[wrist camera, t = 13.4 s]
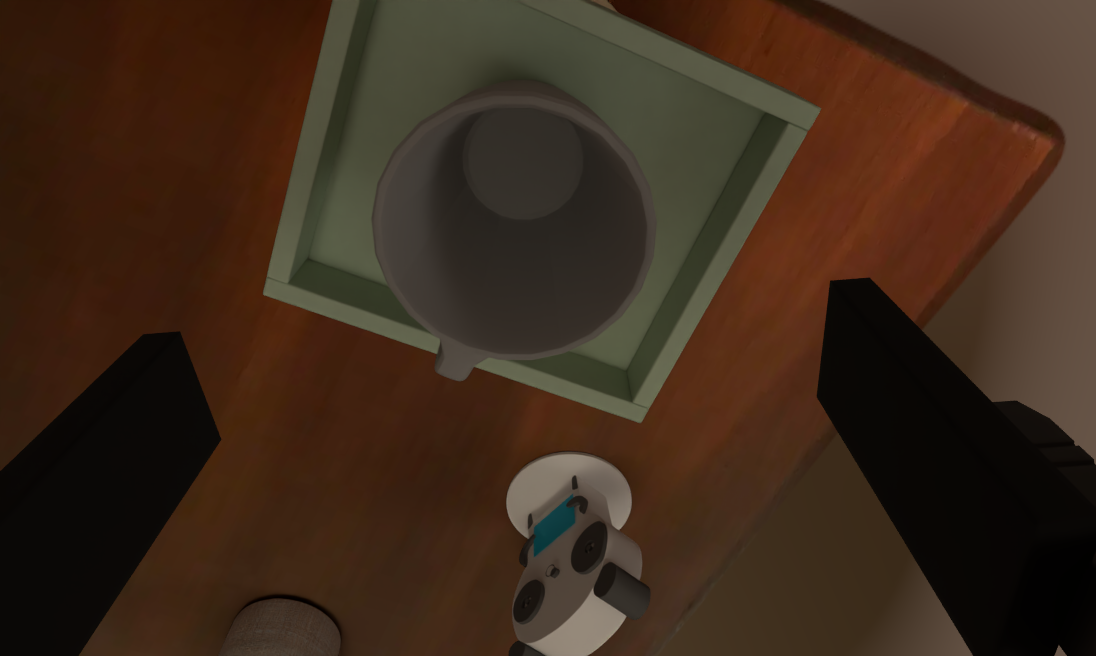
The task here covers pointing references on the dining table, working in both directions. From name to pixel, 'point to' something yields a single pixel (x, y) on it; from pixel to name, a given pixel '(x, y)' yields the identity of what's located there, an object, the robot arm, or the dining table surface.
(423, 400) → the dining table surface
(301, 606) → the planter
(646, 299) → the tray
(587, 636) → the panda figurine
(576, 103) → the cup
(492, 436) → the dining table surface
